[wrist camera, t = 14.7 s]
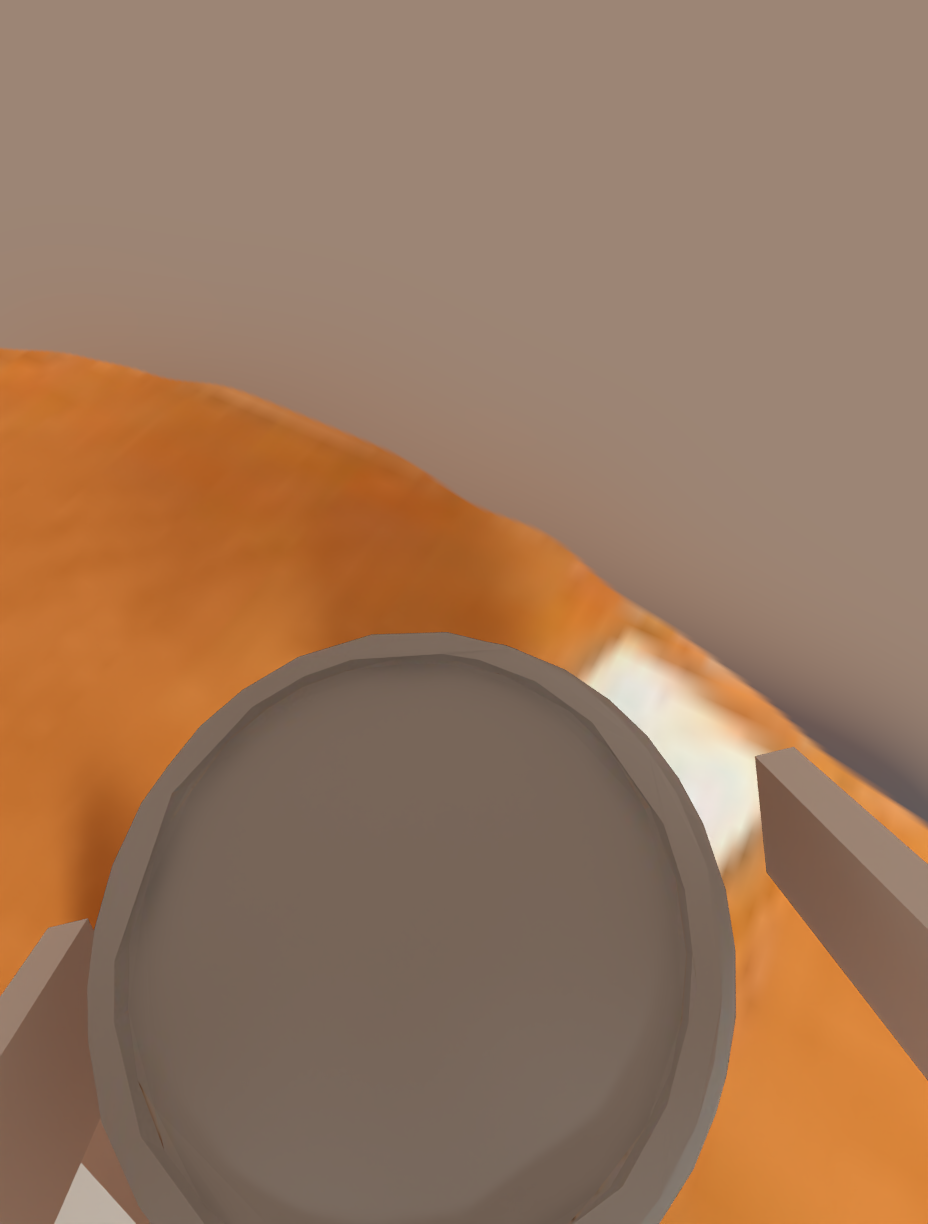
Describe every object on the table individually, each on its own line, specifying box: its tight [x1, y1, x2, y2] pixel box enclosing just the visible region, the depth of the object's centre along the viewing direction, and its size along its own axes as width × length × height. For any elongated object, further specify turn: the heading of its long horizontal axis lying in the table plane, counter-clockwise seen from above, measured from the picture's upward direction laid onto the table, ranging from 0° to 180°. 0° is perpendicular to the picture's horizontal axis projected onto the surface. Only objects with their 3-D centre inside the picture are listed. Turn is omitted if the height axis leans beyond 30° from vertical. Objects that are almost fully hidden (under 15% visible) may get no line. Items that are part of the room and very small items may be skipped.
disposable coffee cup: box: [87, 632, 736, 1224], centre depth 14 cm, size 10×10×12 cm
